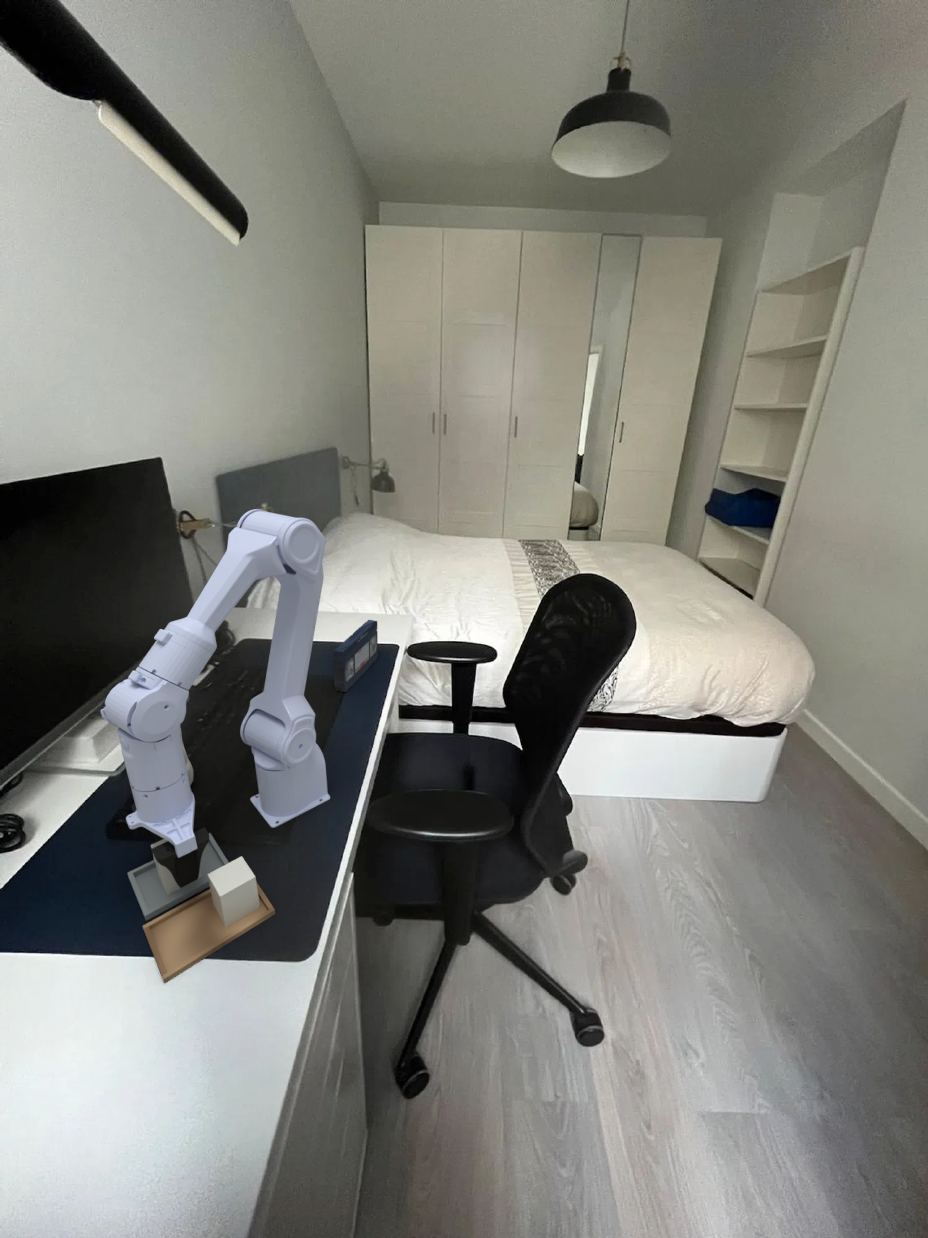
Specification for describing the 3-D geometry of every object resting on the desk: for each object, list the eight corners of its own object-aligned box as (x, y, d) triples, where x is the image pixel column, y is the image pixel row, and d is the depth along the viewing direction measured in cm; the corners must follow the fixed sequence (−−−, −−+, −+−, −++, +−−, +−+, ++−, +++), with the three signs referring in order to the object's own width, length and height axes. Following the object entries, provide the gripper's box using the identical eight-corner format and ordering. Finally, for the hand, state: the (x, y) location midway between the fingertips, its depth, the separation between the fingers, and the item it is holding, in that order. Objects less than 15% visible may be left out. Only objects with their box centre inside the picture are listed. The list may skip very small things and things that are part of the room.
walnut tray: (248, 874, 66) (247, 868, 66) (275, 916, 61) (274, 910, 61) (144, 932, 58) (142, 926, 58) (165, 986, 53) (163, 979, 53)
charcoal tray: (211, 839, 71) (210, 832, 71) (233, 875, 66) (232, 868, 66) (129, 879, 65) (127, 872, 64) (146, 923, 59) (144, 916, 59)
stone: (246, 886, 64) (241, 856, 62) (260, 907, 62) (255, 876, 60) (213, 905, 62) (207, 874, 60) (226, 928, 59) (220, 896, 57)
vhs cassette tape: (345, 694, 109) (343, 652, 105) (332, 692, 110) (330, 650, 106) (380, 658, 126) (379, 620, 122) (369, 656, 126) (367, 619, 123)
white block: (191, 858, 68) (185, 829, 66) (201, 877, 65) (195, 847, 63) (158, 874, 65) (150, 845, 63) (167, 895, 62) (159, 865, 61)
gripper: (104, 759, 62) (127, 845, 67) (135, 827, 52) (160, 921, 57) (168, 737, 66) (185, 818, 71) (208, 796, 57) (225, 885, 62)
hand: (178, 862), depth 64 cm, fingers open, 7 cm apart
